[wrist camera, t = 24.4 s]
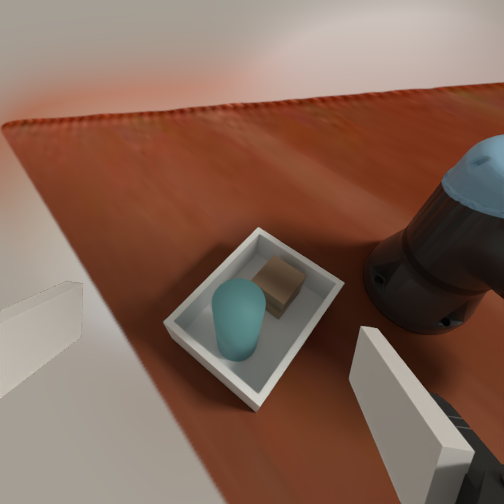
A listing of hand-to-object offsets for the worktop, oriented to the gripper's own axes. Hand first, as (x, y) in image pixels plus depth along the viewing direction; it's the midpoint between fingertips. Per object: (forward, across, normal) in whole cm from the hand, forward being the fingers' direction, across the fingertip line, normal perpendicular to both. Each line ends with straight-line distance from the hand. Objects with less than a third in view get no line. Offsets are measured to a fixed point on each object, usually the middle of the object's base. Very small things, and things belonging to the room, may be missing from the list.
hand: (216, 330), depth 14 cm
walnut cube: (+27, +4, -7) cm, 28 cm away
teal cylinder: (+22, 0, -12) cm, 25 cm away
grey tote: (+25, +2, -10) cm, 27 cm away
